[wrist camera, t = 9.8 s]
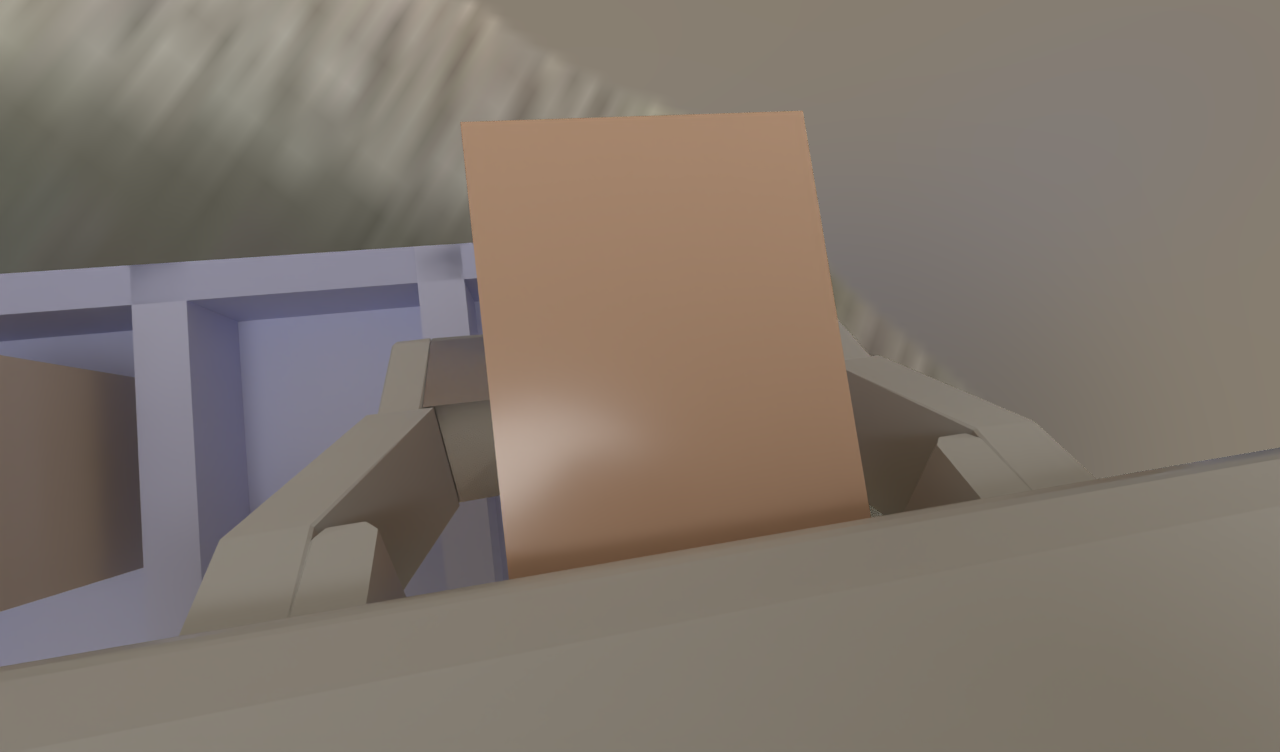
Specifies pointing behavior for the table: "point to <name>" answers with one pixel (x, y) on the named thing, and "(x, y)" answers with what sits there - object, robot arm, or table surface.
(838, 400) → the tan rectangular block
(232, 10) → the table surface
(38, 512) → the beige upright block
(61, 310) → the rack
